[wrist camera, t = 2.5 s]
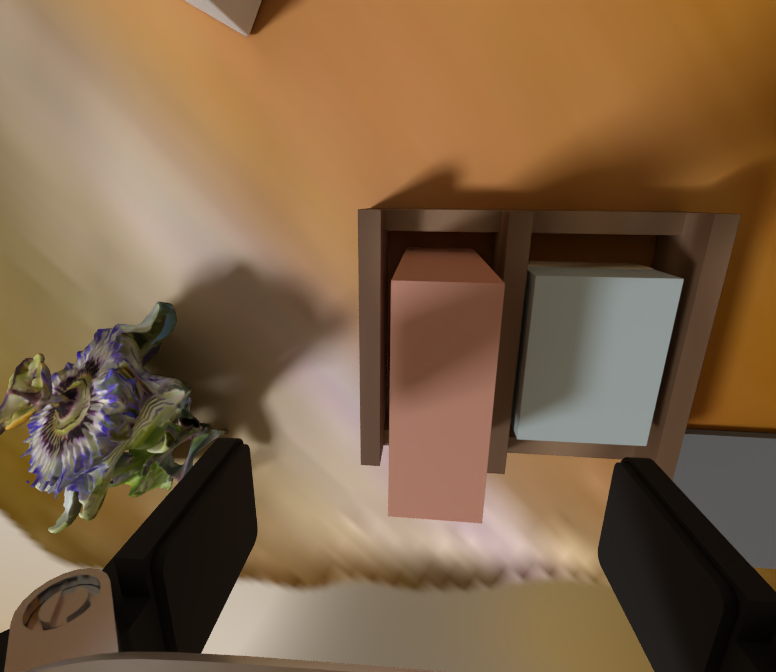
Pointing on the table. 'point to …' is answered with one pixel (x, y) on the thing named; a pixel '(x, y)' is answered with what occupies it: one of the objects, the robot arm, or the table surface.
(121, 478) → the passion flower
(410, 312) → the pink rectangular block
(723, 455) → the slate mat
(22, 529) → the table surface
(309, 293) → the table surface
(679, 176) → the table surface
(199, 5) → the milk carton
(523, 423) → the offcut upper
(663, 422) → the rack
